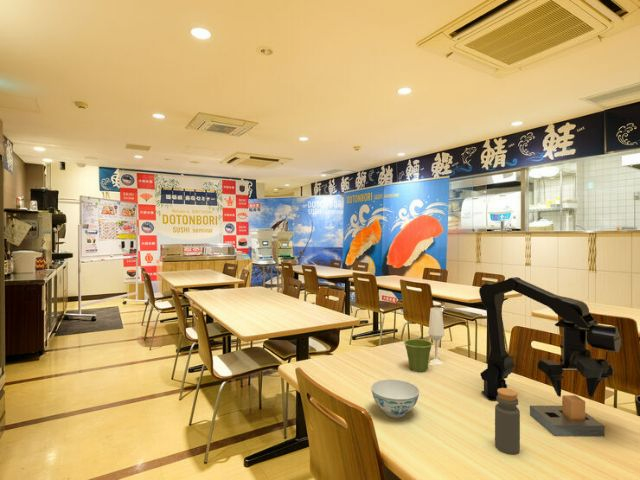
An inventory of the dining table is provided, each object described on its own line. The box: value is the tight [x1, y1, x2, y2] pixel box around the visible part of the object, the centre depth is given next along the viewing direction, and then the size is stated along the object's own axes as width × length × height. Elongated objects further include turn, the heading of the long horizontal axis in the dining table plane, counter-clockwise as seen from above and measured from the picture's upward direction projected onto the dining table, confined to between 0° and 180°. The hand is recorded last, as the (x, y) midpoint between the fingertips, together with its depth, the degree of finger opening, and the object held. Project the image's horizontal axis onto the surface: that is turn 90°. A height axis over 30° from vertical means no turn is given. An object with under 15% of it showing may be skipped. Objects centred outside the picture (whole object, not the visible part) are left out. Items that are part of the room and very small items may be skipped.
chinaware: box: [370, 378, 420, 419], centre depth 115 cm, size 15×15×8 cm
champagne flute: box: [427, 307, 445, 364], centre depth 160 cm, size 7×7×24 cm
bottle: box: [494, 387, 521, 455], centre depth 95 cm, size 6×6×15 cm
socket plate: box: [529, 404, 606, 437], centre depth 107 cm, size 14×12×3 cm
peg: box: [561, 394, 586, 420], centre depth 107 cm, size 4×4×8 cm
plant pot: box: [403, 338, 434, 373], centre depth 152 cm, size 12×12×11 cm
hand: (574, 396), depth 107 cm, fingers open, 9 cm apart
